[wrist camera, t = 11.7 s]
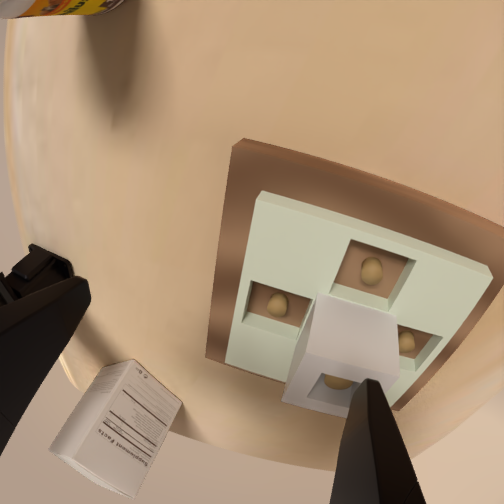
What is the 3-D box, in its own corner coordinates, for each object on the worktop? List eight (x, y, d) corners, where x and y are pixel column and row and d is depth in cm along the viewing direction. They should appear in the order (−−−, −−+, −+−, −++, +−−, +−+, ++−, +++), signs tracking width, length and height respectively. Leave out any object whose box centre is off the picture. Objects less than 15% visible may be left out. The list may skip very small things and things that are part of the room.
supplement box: (146, 405, 42) (100, 487, 30) (101, 366, 39) (45, 448, 27) (185, 403, 37) (136, 502, 25) (135, 357, 34) (69, 460, 22)
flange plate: (487, 265, 15) (517, 334, 11) (389, 396, 23) (386, 456, 19) (262, 190, 17) (225, 245, 12) (229, 351, 25) (203, 409, 21)
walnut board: (398, 393, 26) (396, 459, 20) (213, 340, 28) (182, 403, 23) (513, 232, 15) (558, 302, 10) (243, 138, 18) (189, 178, 12)
